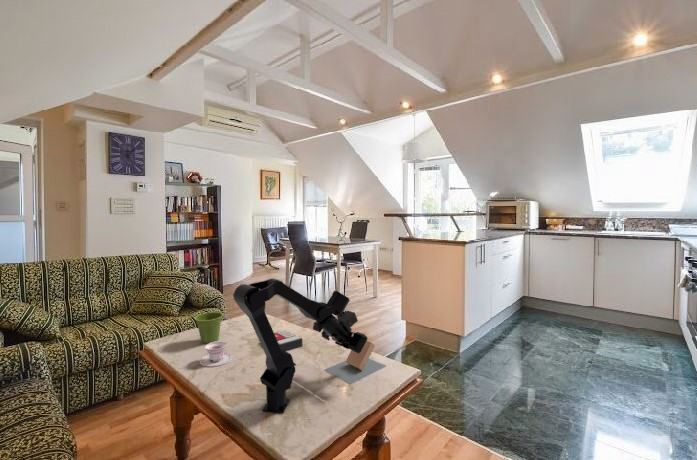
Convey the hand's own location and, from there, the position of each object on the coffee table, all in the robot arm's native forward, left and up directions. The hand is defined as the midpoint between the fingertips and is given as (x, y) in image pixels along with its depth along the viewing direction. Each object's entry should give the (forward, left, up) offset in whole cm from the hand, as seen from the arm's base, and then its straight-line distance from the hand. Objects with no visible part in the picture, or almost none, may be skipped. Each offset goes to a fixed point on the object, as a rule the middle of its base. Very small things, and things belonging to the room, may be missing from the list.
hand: (355, 347), depth 125 cm
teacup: (+1, +55, -8) cm, 56 cm away
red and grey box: (+19, +34, -8) cm, 40 cm away
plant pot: (+19, +68, -8) cm, 71 cm away
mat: (0, 0, -8) cm, 8 cm away
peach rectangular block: (-1, +1, -7) cm, 7 cm away
